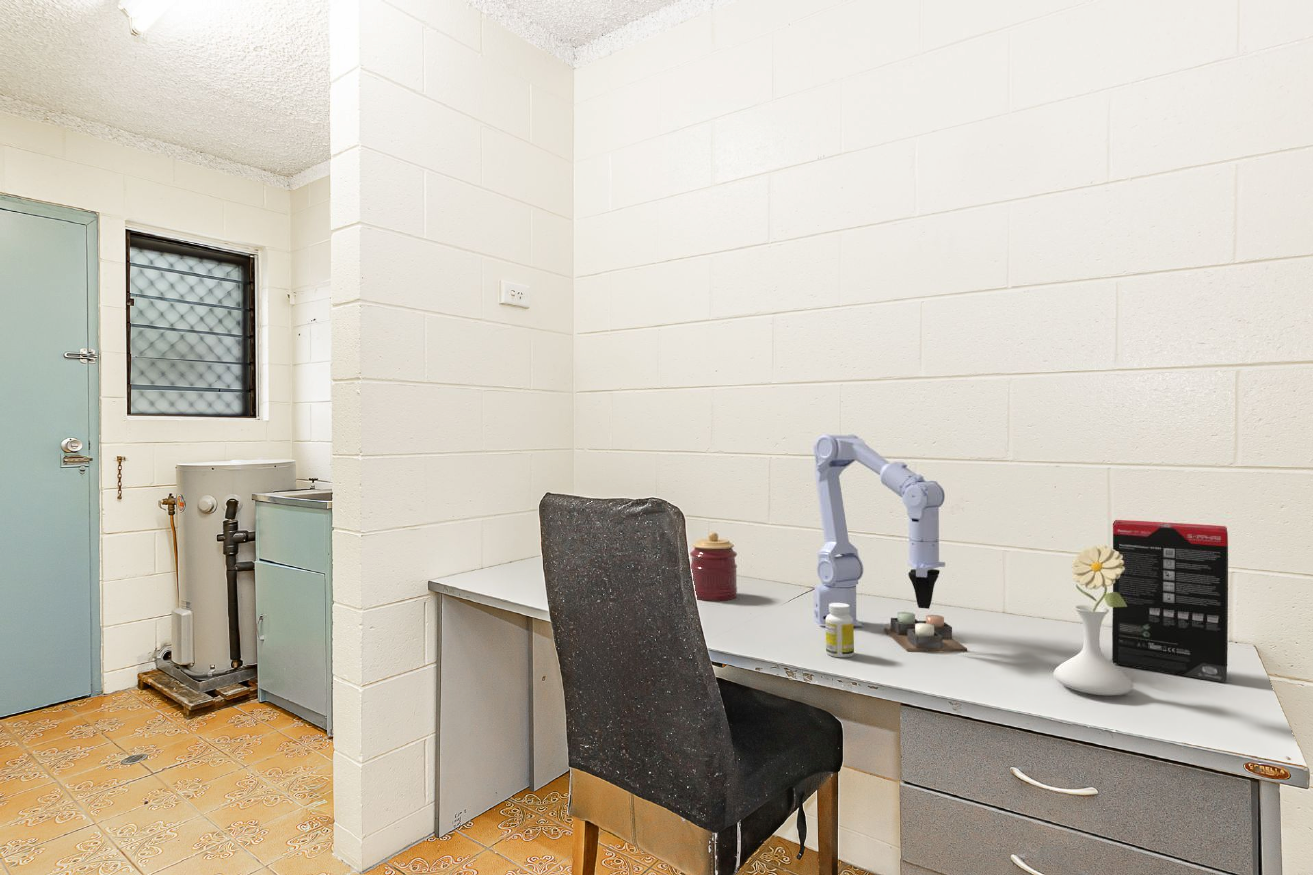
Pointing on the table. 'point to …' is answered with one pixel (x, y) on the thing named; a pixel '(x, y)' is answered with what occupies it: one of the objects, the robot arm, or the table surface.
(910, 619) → the sage button
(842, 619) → the supplement bottle
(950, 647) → the button panel
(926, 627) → the cream button
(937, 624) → the terracotta button
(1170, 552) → the graphics card box
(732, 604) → the table surface
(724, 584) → the canister
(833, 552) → the robot arm
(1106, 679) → the flower in vase
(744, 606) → the table surface
